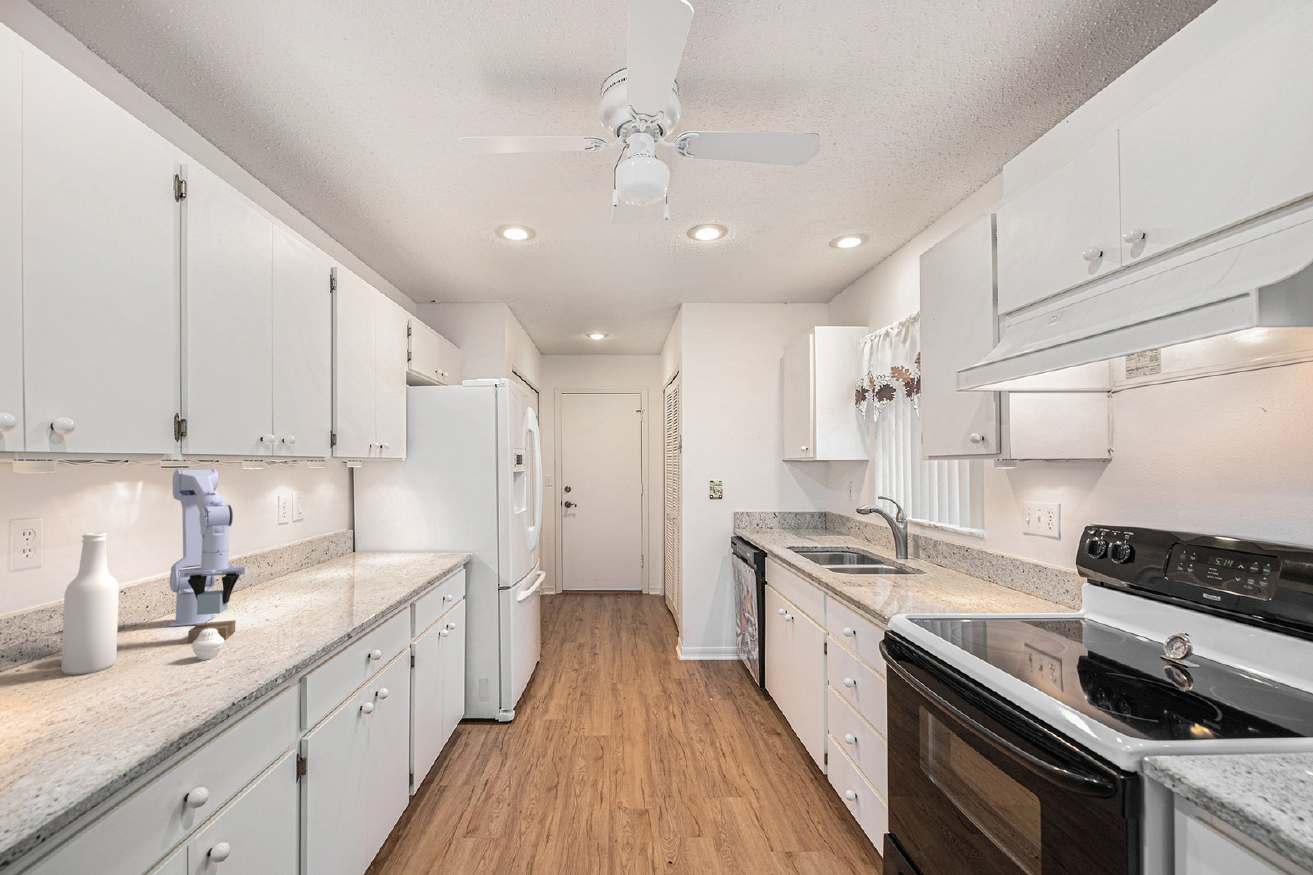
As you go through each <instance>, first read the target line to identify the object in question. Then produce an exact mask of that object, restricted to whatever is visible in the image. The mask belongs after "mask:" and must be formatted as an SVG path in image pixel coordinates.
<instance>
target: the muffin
mask: <svg viewBox="0 0 1313 875" xmlns="http://www.w3.org/2000/svg"><path fill="white" fill-rule="evenodd" d="M224 643H225V640H224V638H222V637H221V636H220V634H218V630H216V629H214V628H208V629H205V630H203V631H201V632H200V634H199V636H198V638H197V639H196V640H195V641H194V642H193V643H191V648H192V651H193V652H194V654H195V655H196V657H197V659H198V660H199V659H201V660H200V661H208V659H209V660H213V659H215V658H217V657H218V655H219V653H220V652H221V649H222V648H223V647H224V646H223V645H224Z"/></svg>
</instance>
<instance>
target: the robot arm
mask: <svg viewBox="0 0 1313 875" xmlns="http://www.w3.org/2000/svg"><path fill="white" fill-rule="evenodd" d="M218 485H219V473H218V471H217V470H216V469H215V468H211V469H180V468H179V469H177V468H176V470H174V472H173V475H172V495H173V500H174V499H175V500H177V501H180V505H181V508H182V514H181V515H182V558H181V559H179V560H177V561H176V562H174V563H173V564H172V566H171V568H170V574H169V589H170V590H171V592H172V593H176V600H175V621H174V622H171V623H170V624H168V627H181V626H182V627H183V626H196V625H198V624H199V623H208V622H209V621H210V620H212V619H214V618H216V614H203V615H197V595H199V594H201V593H203V592H205V591H211V588H213V587H214V585H215V584H216V582H217V576H222V577H221V581H222V590H223V603H228V604H229V602H230V600H231V595H232V593H233V589H234V587H235V585H236V583H237V581H238V579H239V578H240V577H241V576H243V575H247V574H248V572H249V570H248V569H249V568H248V566H247V565H243V566H241V565H240V566H238V565H236V566H235V565H234V566H233V565H232V566H229V547H230V546H229V545H230V544H229V543H230V542H229V541H230V539H229V538H230V527H231V526H232V524H233V521H234V520H233V519H234V512H233V511H234V510H233V507H232V505H231V504H227V503H226V504H225V501H224V500H223V497H222V496H221V494H220V493H219V492H217V491H216V489H217V488H218Z"/></svg>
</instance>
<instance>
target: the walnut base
mask: <svg viewBox="0 0 1313 875" xmlns="http://www.w3.org/2000/svg"><path fill="white" fill-rule="evenodd" d="M208 628H214V629H216V630H218V634H220V636H221V637H222V638H224V641H227V640H228V639H229V638H230V637H231V636H232V635H234V634H235V633H236V620H235V619H234V620H225V621H224V620H221V621H207V622H205V623H199V624H198V625H194V627H192V628H191V629H189V630H188V631H187V633H188V635H187V643H188V644H189V643H190V644H192V643H193V642H194V641H195V640H196V639H197V638H198V636H199V634H200V632H201V631H203V630H205V629H208ZM234 632H235V633H234ZM190 644H189V645H190Z"/></svg>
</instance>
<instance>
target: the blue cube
mask: <svg viewBox="0 0 1313 875" xmlns="http://www.w3.org/2000/svg"><path fill="white" fill-rule="evenodd" d="M228 604H229V602H228V603H223V589H221V590H209V591H205V592H203V593H201V594H199V595H197V615H203V614H212V615H216V614H222V613H223V612H225V611H226V610H228Z"/></svg>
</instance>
